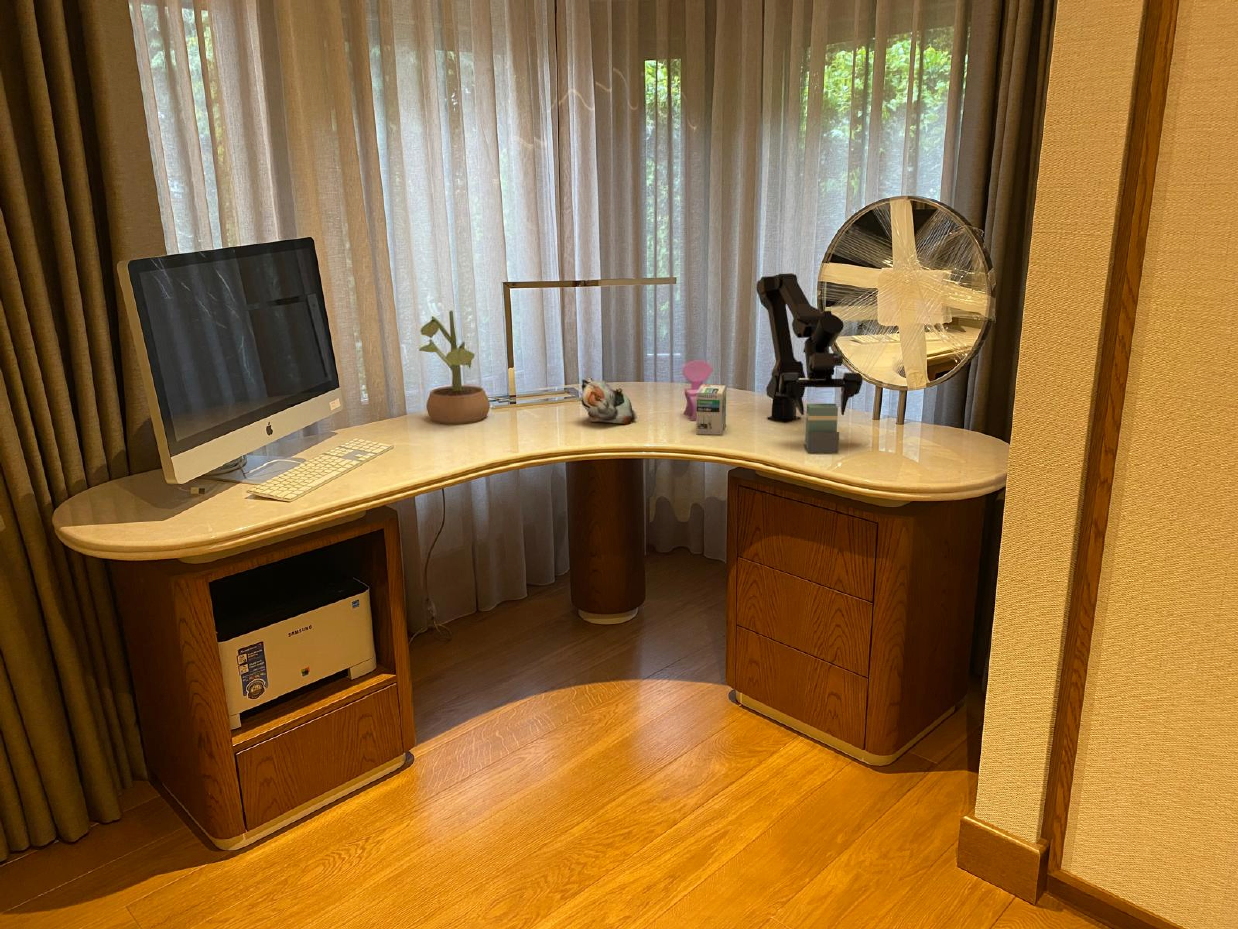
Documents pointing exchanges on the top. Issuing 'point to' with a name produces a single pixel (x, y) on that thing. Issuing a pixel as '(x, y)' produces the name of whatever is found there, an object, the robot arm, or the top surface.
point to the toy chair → (695, 383)
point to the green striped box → (821, 419)
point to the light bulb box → (711, 410)
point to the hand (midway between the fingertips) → (822, 414)
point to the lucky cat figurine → (606, 403)
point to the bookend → (823, 442)
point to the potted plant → (454, 382)
